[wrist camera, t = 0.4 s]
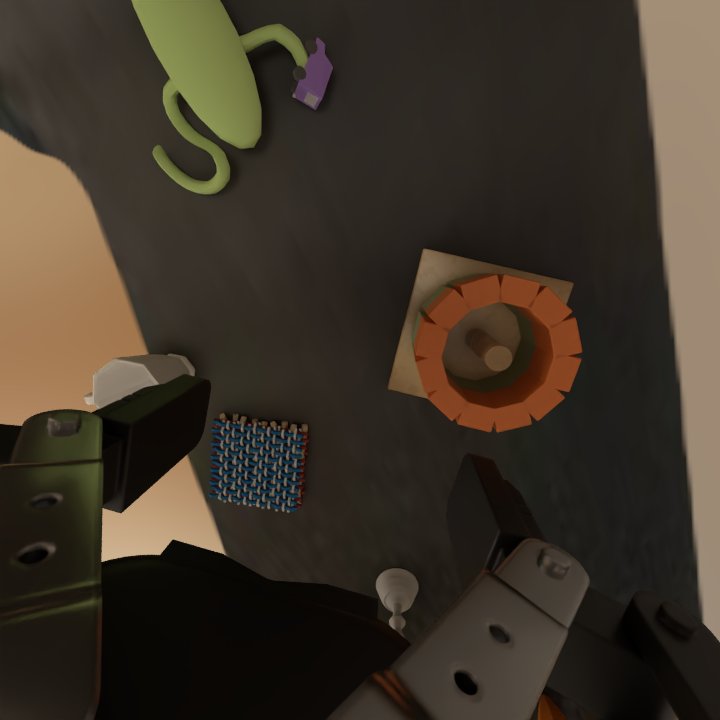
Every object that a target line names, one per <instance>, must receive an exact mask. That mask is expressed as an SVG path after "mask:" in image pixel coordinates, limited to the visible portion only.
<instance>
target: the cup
mask: <svg viewBox="0 0 720 720" xmlns="http://www.w3.org/2000/svg"><path fill="white" fill-rule="evenodd" d="M183 374H188V375H191V376H195V368H194V367H193V366H192V364H191V363H190V362H189V360H188V359H187V358H186V357H185V356H181V355H176V354H171V353H170V354H168V355H156V354H148V355H141V356H132V357H120V358H114V359H113V360H111V361H110V362H109V363H107V364H106V365H105V366H103V367H102V368H101V369H100V370H98V371H97V372H96V373H94V374H93V392H91V393H89V394H87V395H85V396H84V398H85V401H86V404H87V405H92V404H94V405H95V406H96V407H97V408H98V409H100V408H102V407H104V406H106V405H108V404H111V403H113V402H115V401H117V400H121V399H122V398H123V397H125V396H127V395H129V394H130V395H132V393H134V392H136V391H138V390H140V389H142V388H144V387H148V386H153V385H158V384H165V383H167V382H169V381H171V380H173V379H175V378H177V377H179V376H181V375H183Z"/></svg>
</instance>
